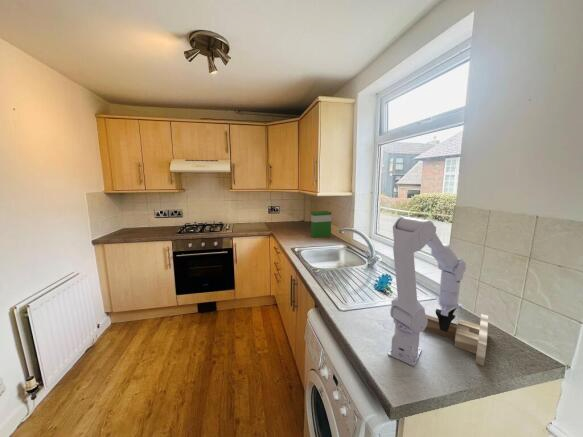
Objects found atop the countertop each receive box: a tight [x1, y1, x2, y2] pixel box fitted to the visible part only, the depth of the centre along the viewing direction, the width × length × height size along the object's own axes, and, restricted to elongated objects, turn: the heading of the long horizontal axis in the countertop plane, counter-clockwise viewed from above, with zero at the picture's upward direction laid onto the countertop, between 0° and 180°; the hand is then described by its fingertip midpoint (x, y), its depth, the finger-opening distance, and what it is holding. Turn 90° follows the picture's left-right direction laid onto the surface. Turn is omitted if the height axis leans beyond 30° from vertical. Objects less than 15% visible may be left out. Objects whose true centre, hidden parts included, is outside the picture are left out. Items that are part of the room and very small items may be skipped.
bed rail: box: [423, 314, 470, 341], centre depth 88 cm, size 3×14×5 cm, turn 50°
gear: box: [373, 273, 393, 294], centre depth 124 cm, size 11×6×10 cm
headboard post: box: [454, 313, 489, 367], centre depth 83 cm, size 20×8×7 cm, turn 141°
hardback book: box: [310, 210, 332, 239], centre depth 235 cm, size 18×7×24 cm, turn 108°
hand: (445, 325), depth 88 cm, fingers open, 7 cm apart
